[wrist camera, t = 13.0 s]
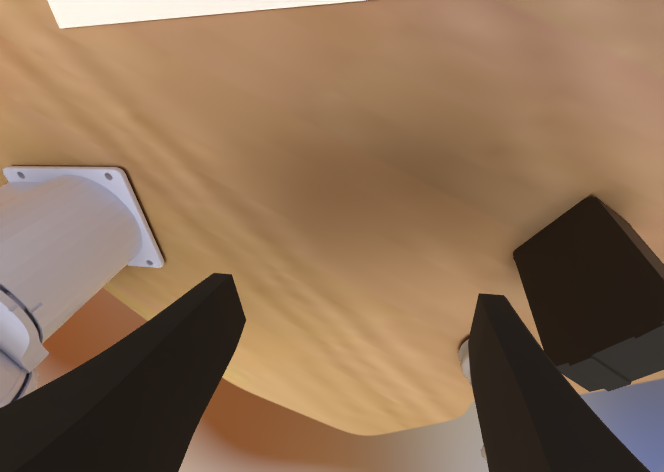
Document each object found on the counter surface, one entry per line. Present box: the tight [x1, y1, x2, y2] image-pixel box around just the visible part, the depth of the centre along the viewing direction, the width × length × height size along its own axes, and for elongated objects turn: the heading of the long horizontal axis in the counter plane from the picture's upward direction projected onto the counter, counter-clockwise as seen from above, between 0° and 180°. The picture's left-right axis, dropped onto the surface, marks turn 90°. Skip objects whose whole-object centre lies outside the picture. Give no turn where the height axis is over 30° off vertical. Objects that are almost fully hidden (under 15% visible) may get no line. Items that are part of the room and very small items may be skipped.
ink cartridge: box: [513, 197, 664, 392], centre depth 16 cm, size 5×2×8 cm, turn 148°
